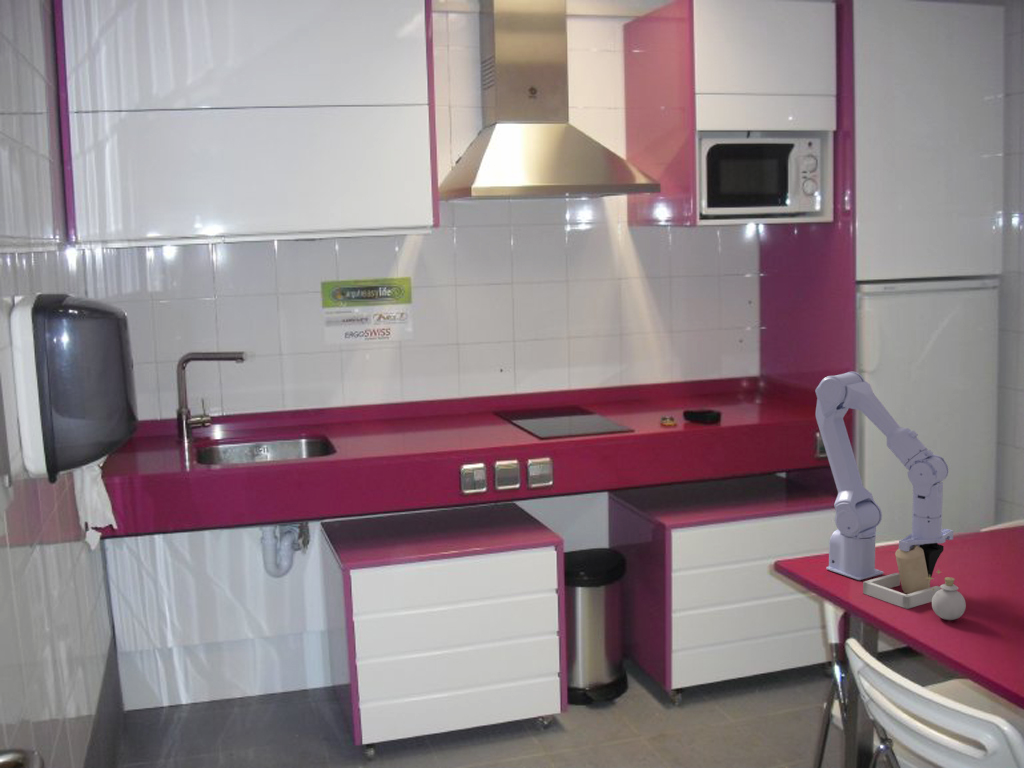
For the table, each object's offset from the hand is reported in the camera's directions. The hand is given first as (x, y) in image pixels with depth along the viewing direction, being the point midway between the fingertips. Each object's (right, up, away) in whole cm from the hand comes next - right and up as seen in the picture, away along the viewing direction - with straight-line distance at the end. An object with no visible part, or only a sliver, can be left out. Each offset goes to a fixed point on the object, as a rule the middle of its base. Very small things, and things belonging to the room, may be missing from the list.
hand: (925, 578), depth 217 cm
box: (-5, -3, -3) cm, 7 cm away
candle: (-2, -2, -1) cm, 3 cm away
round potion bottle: (-3, -5, -16) cm, 17 cm away
